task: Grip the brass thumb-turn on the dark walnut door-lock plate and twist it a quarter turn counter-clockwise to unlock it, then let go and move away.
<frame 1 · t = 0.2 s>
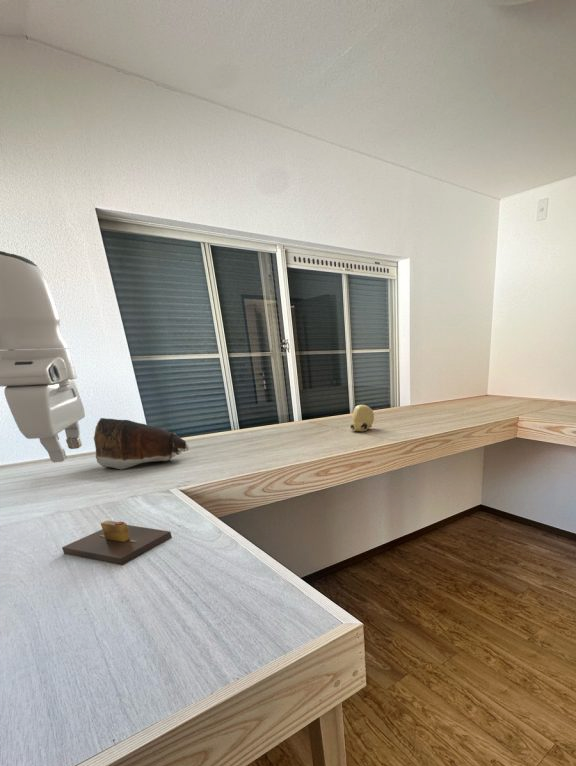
hand: (68, 454, 71), 19 cm above the table, tool pointing down, fingers open, 8 cm apart
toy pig: (362, 430, 178), on the table
lock plate: (122, 553, 78), on the table
lock turn: (115, 530, 76), point 5 cm above the table, hinge at 0.0°
brown tapered piece: (149, 464, 136), on the table
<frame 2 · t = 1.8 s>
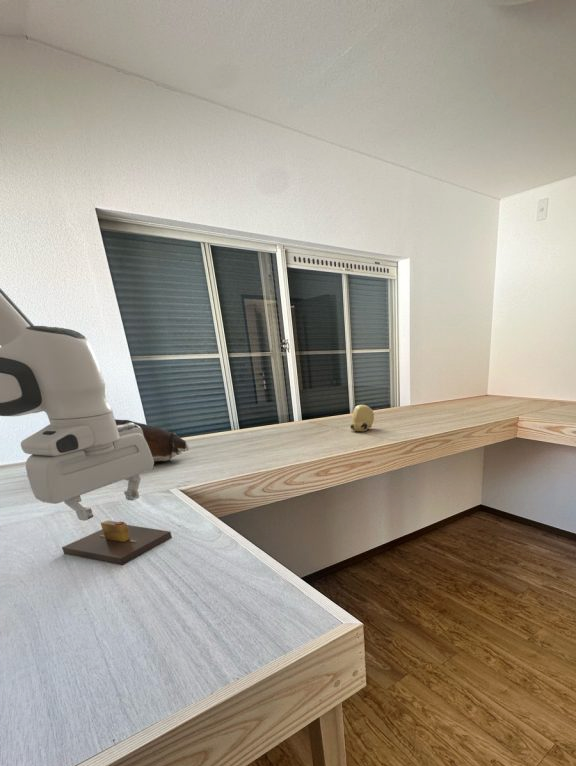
hand: (111, 508, 75), 9 cm above the table, tool pointing down, fingers open, 8 cm apart
nothing on the table moved.
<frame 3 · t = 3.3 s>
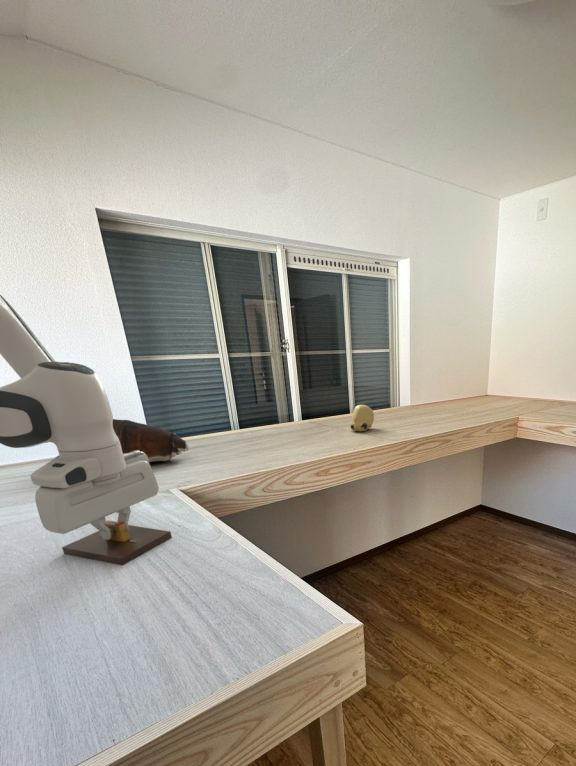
hand: (116, 534, 76), 4 cm above the table, tool pointing down, fingers closed on lock turn
lock turn: (115, 530, 76), point 5 cm above the table, hinge at -0.1°, touching gripper
everything else where it was.
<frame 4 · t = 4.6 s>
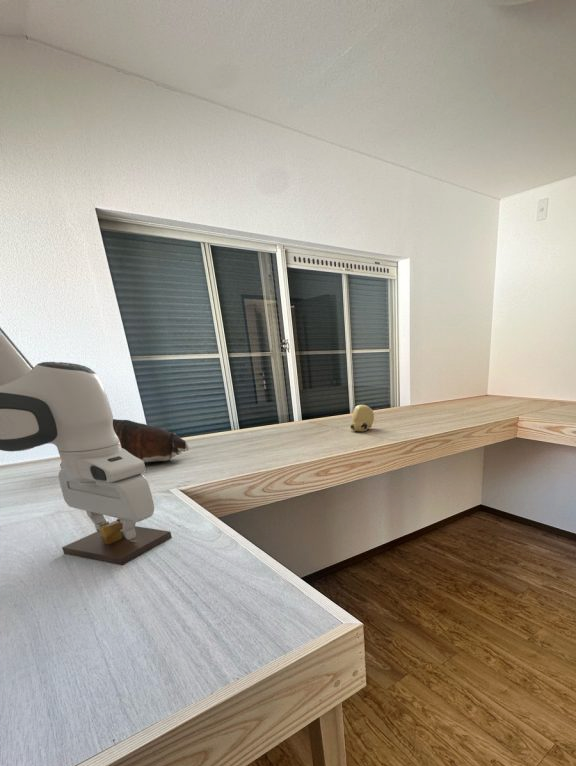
hand: (116, 534, 76), 4 cm above the table, tool pointing down, fingers open, 6 cm apart
lock turn: (115, 530, 76), point 5 cm above the table, hinge at 83.9°
everything else where it was.
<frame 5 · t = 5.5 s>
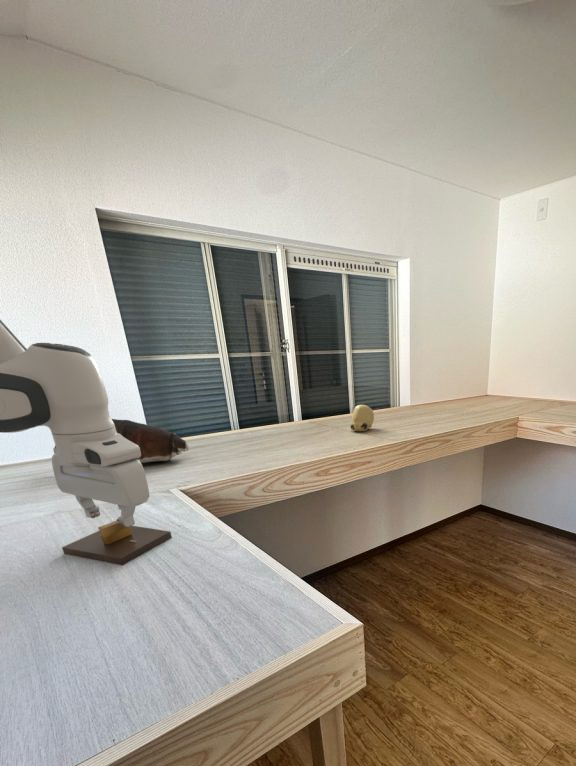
hand: (110, 520, 76), 7 cm above the table, tool pointing down, fingers open, 8 cm apart
nothing on the table moved.
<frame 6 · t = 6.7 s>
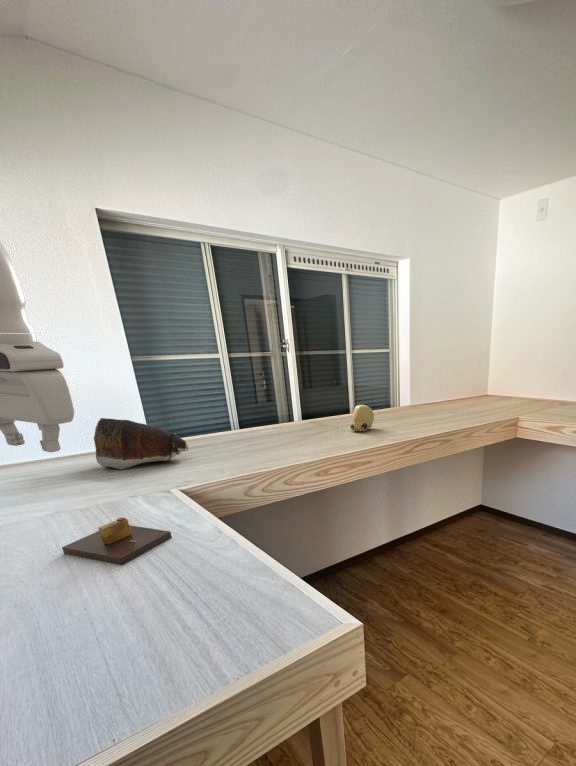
hand: (34, 448, 66), 21 cm above the table, tool pointing down, fingers open, 8 cm apart
nothing on the table moved.
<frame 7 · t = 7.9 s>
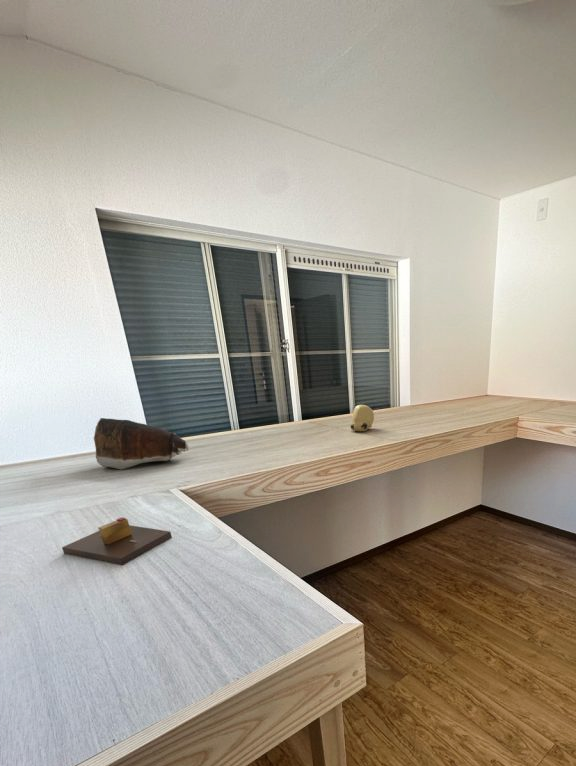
nothing on the table moved.
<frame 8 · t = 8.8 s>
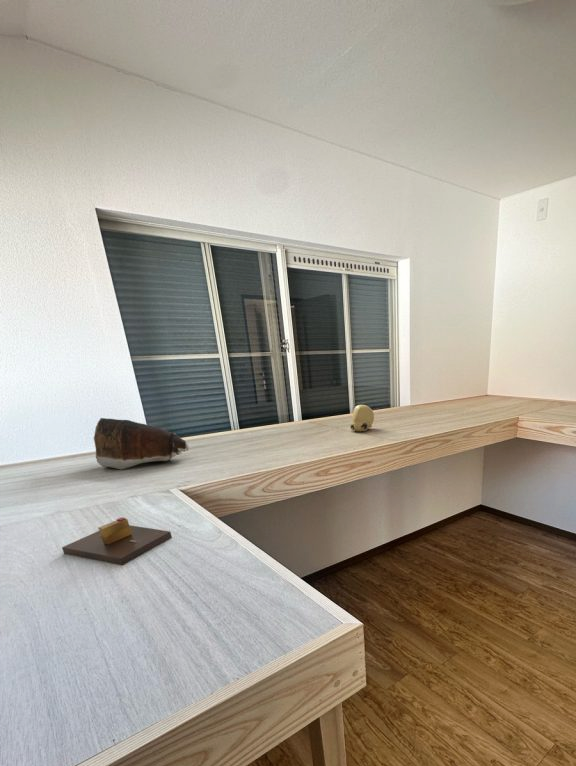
nothing on the table moved.
at the end: lock turn at +84° (first picture: +0°) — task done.
